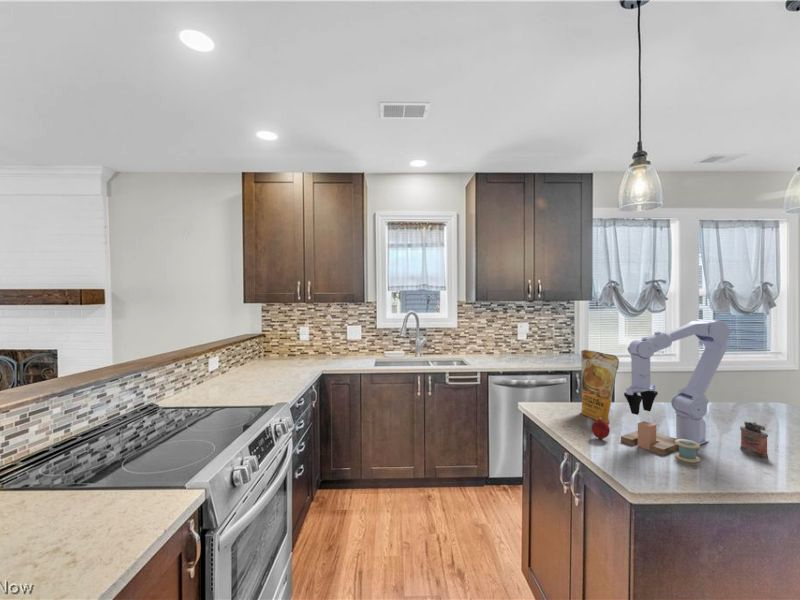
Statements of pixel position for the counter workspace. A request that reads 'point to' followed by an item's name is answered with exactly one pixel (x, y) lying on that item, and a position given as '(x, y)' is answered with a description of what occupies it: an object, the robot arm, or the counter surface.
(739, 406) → the counter surface
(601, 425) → the onion
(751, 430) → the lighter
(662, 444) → the notched board
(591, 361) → the pancake mix bag
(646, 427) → the peg
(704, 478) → the counter surface
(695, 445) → the spool
